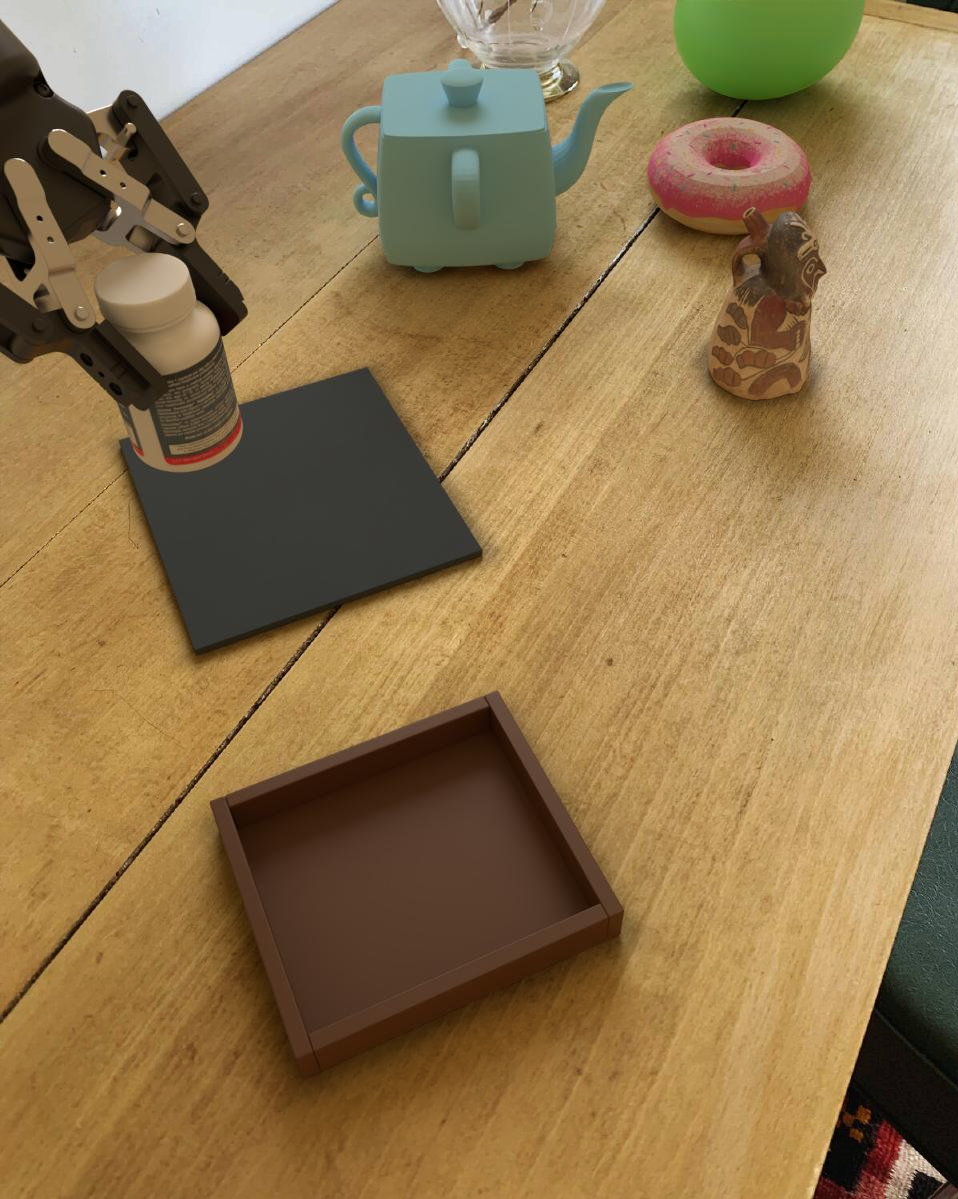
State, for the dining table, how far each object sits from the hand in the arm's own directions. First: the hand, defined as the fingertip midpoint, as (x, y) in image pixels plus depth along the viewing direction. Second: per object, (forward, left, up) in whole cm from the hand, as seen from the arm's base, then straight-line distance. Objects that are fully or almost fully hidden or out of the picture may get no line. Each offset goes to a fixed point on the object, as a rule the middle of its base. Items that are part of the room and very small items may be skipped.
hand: (197, 360), depth 49 cm
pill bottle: (-1, +1, -5) cm, 6 cm away
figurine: (+39, +9, -20) cm, 44 cm away
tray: (+2, -17, -20) cm, 26 cm away
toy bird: (+63, +46, -20) cm, 80 cm away
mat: (+5, +11, -20) cm, 23 cm away
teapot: (+29, +33, -20) cm, 48 cm away
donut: (+49, +29, -20) cm, 60 cm away
